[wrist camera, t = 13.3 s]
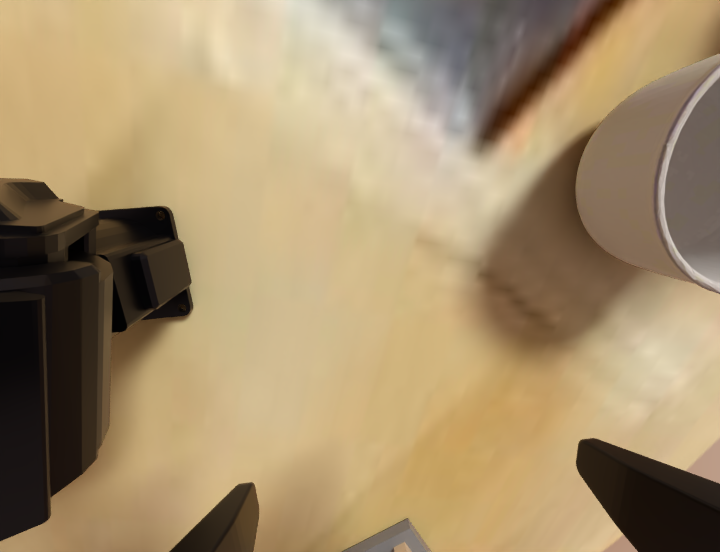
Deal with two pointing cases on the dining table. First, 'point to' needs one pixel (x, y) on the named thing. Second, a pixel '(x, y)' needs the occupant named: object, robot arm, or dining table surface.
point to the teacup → (659, 177)
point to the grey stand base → (393, 540)
